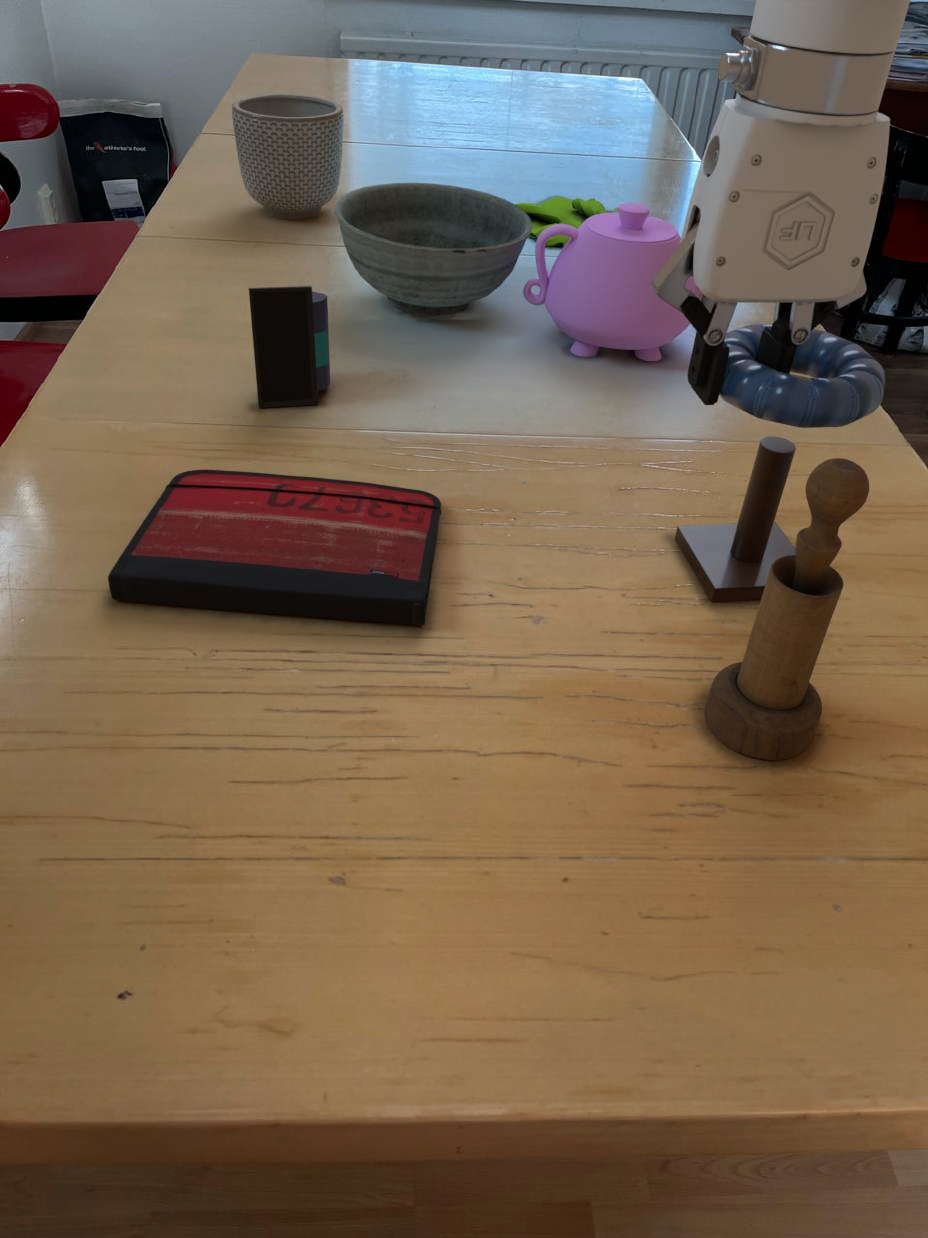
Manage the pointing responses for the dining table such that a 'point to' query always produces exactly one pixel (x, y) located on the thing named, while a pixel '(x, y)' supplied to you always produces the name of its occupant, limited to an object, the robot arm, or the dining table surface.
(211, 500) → the ink pad
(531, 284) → the teapot
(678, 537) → the stand
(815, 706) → the mortar and pestle
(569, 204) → the cloth
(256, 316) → the speaker
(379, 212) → the bowl
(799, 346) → the blue ring
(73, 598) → the dining table surface
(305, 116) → the planter
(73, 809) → the dining table surface
